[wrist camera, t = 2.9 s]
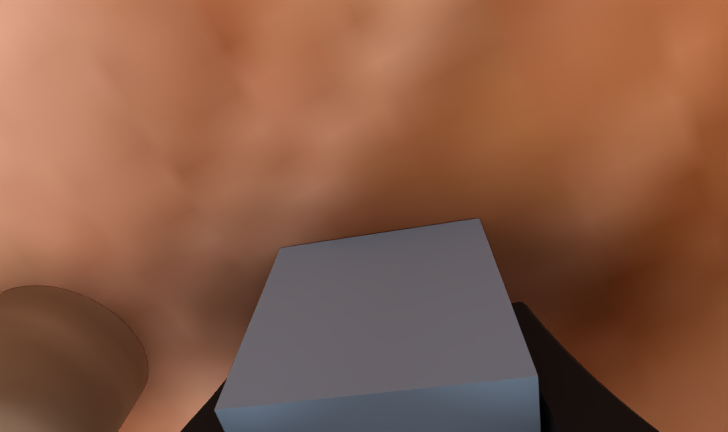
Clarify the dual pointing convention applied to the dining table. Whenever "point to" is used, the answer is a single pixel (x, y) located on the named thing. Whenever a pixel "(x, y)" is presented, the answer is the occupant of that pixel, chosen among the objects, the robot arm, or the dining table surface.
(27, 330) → the cylinder
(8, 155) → the dining table surface
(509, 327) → the cube
